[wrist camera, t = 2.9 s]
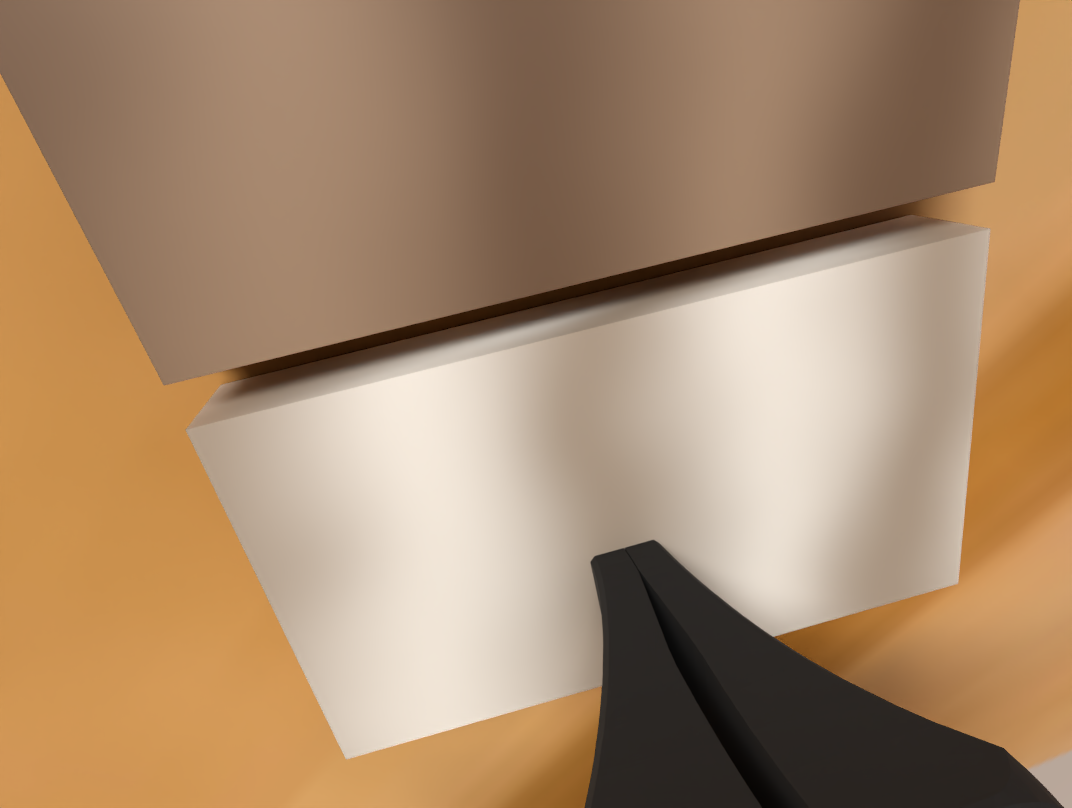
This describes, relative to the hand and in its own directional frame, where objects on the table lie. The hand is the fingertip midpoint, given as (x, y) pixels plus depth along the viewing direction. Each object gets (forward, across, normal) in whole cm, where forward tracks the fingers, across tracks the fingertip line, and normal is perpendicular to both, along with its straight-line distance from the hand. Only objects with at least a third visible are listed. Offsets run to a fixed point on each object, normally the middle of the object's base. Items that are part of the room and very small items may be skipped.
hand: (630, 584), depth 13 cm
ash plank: (+2, 0, -1) cm, 2 cm away
